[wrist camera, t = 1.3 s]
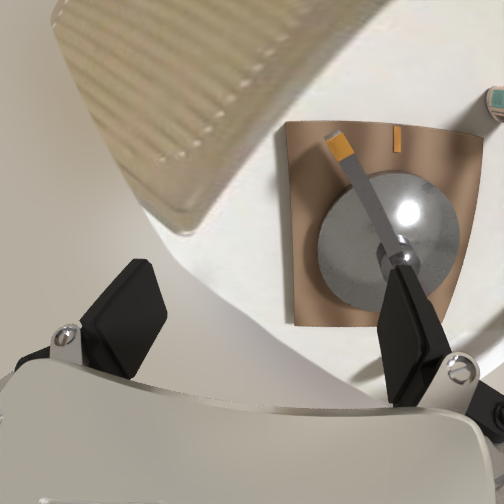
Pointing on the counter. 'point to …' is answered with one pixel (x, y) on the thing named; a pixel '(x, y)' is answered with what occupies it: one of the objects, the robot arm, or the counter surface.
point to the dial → (383, 231)
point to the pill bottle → (496, 103)
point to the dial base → (372, 160)
